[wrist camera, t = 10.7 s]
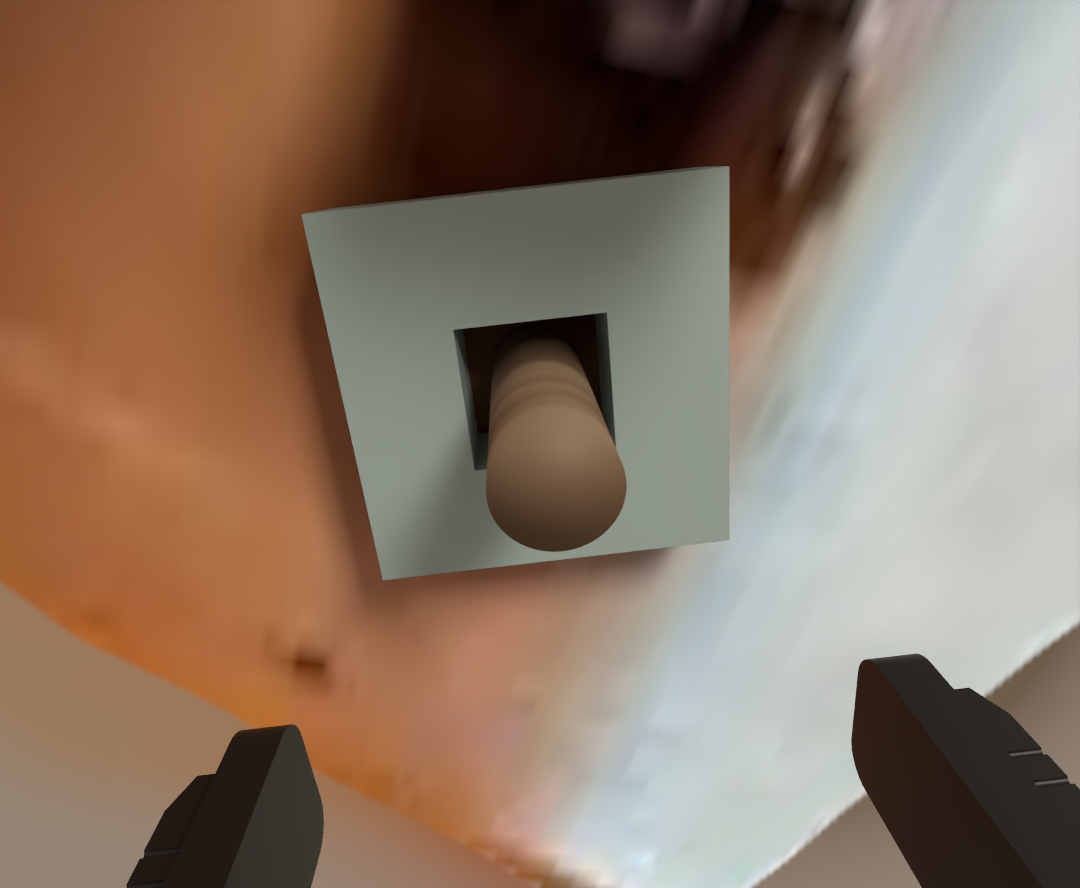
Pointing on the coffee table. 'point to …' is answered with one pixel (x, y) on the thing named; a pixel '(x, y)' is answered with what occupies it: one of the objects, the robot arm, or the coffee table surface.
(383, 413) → the socket
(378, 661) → the coffee table surface
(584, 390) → the peg
